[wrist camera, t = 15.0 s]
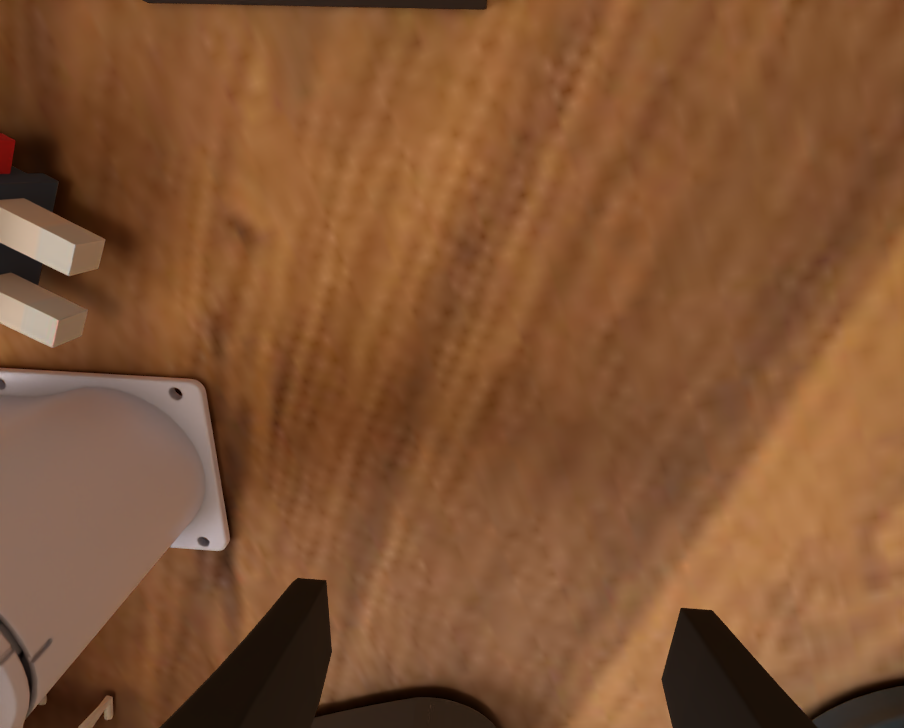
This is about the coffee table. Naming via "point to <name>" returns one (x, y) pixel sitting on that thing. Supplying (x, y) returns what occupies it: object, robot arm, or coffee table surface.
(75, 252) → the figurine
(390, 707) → the media streaming box
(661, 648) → the coffee table surface
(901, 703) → the canister
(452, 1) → the stand
